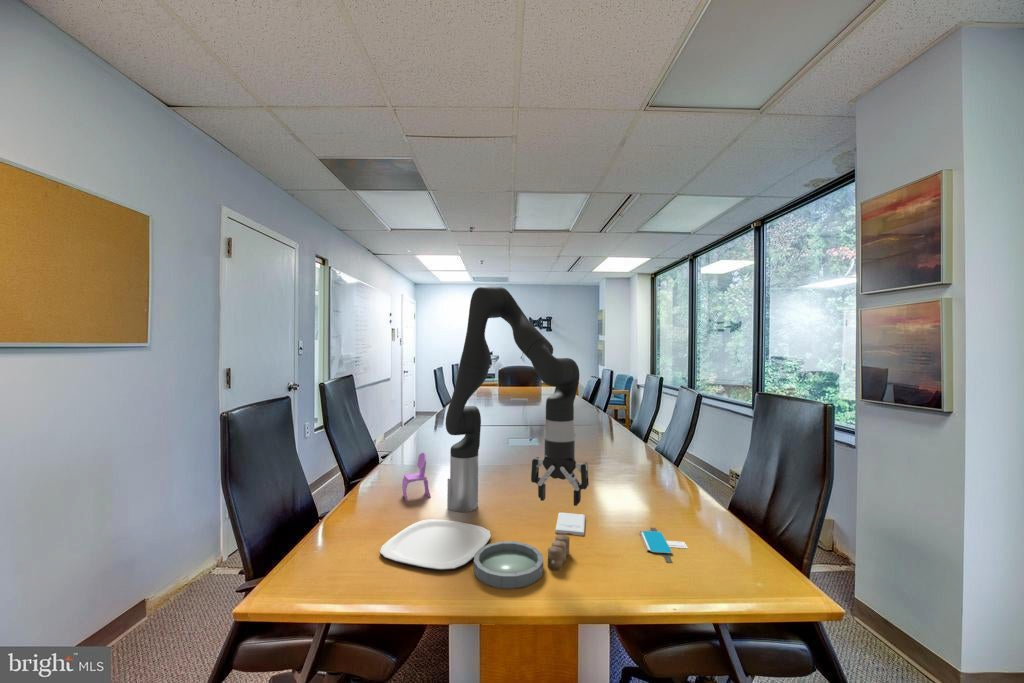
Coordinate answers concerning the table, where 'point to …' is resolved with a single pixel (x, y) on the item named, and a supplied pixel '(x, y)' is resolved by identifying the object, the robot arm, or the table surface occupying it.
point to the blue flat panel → (659, 543)
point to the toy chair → (417, 476)
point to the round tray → (508, 565)
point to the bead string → (558, 552)
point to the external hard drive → (570, 524)
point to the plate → (436, 544)
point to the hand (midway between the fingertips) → (559, 502)
